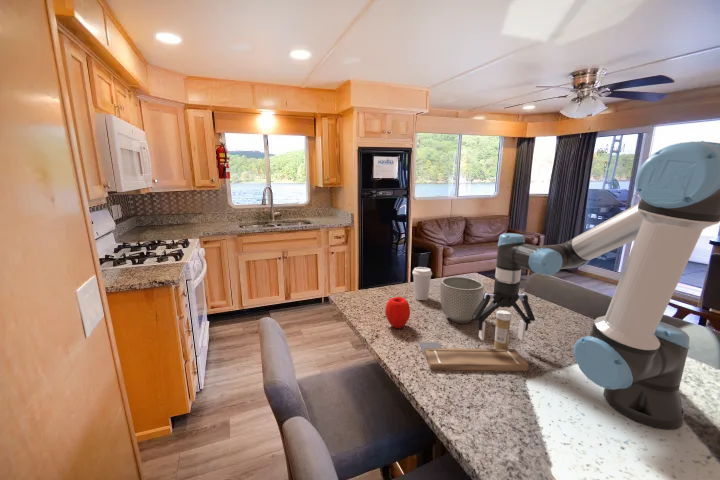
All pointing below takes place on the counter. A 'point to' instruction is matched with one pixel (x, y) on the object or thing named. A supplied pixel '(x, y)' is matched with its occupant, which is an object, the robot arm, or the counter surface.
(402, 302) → the apple
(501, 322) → the spice jar
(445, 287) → the planter
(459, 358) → the board
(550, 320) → the counter surface
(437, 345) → the end pad
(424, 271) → the coffee cup
